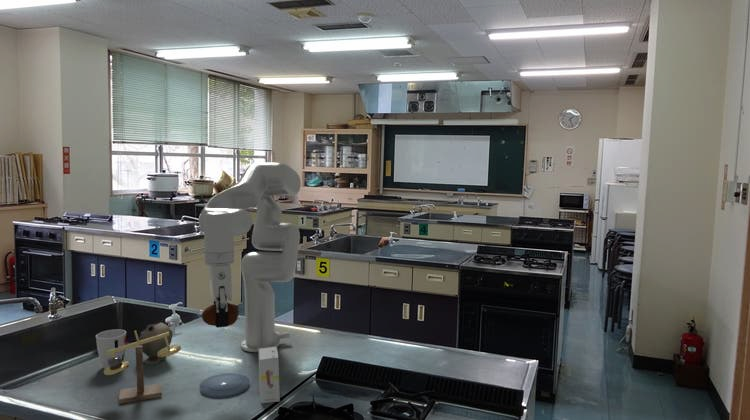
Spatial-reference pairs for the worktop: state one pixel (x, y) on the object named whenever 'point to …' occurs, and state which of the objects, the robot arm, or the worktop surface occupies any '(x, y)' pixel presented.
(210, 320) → the potato
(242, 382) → the plate
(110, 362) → the balance beam
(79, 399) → the worktop surface
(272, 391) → the ink box
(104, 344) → the cup
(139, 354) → the balance stand
